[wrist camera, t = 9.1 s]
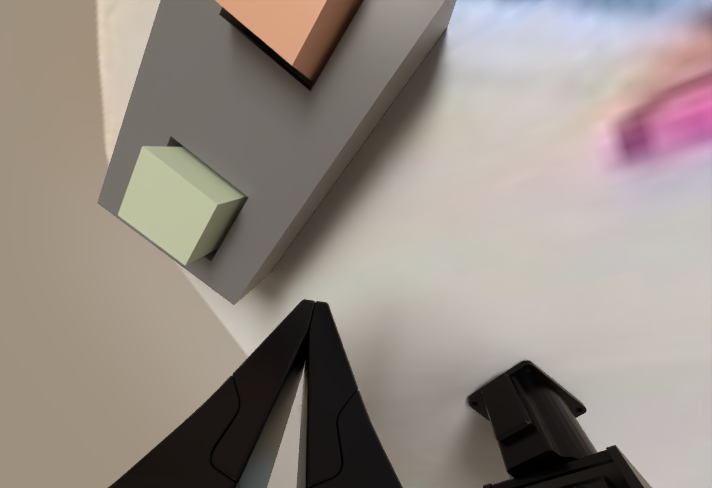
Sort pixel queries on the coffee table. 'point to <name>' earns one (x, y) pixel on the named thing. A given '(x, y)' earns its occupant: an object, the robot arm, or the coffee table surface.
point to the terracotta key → (297, 28)
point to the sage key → (180, 202)
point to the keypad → (265, 117)
